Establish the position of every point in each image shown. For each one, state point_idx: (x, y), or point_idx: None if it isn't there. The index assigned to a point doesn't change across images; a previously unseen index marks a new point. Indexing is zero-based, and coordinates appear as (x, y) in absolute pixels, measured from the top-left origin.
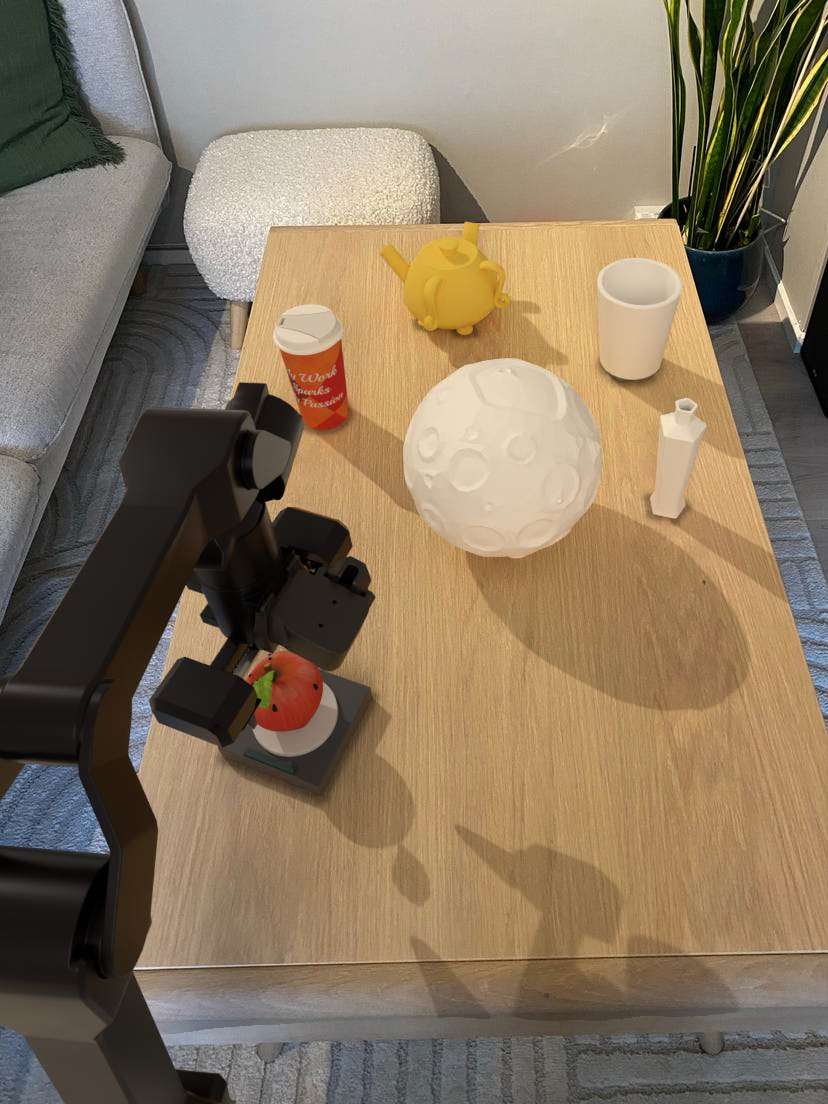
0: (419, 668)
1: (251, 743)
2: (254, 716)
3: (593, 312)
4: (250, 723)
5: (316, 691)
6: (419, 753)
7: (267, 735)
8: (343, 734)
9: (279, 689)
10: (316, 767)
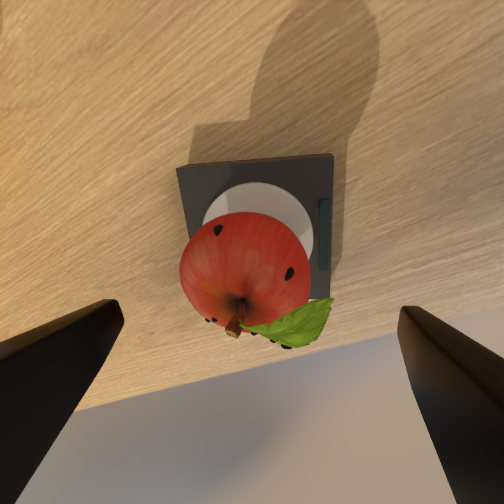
0: (122, 128)
1: (310, 267)
2: (450, 349)
3: None
4: (481, 349)
5: (224, 224)
6: (221, 52)
7: None
8: (250, 165)
9: (258, 285)
10: (308, 174)
